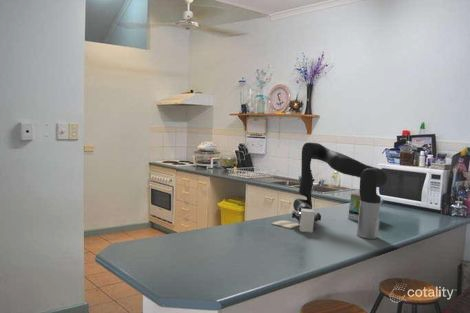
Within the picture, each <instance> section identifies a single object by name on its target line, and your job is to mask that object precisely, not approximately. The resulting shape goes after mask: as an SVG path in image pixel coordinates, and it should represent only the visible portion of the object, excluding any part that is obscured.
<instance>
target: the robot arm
mask: <svg viewBox="0 0 470 313" xmlns="http://www.w3.org/2000/svg"><path fill="white" fill-rule="evenodd" d="M312 160H318V161H321V162H323V163H326V164H328V166H329V167H330V168H331V169H333V170H334V171H336V172H339V173H340V174H344V175H347V176H350V177H356V178H359V191H358V192H359V193H360V197H361V199H360V208H359V217H358V221H357V229H356V235H357V237H360V238H363V239H369V240H370V239H371V240H376V239H377V238H378V237H379V231H380V221H381V217H380V209H381V201H382V199H381V198H382V197H381V196H380V195H379V194H378V193H377V188H380V187H381V188H382V187H383V186H384V185H385V184H387V182H388V176H387V173H386V172H385V171H384V170H383V169H381V168H379V167H378V168H377V167H376V166H375V167H374V166H371V165H368V164H365V163H363V162H360V161H358V160H357V159H354V158H353V157H351V156H348V155H345V154H344V153H340V152H338V151H334V150H331V149H329V148H327V147H326V146H324V145H322V144H320V143H318V142H312V141H311V142H310V141H308V142H305V143H304V144H303V146H302V148H301V167H300V168H301V175H300V182H299V189H298V194H299V195H302V196H304V197H305V198H306V199H304V198H295V199H294V200H293V204H292V205H293V210H292V212H291V213H292V215H291V218H292V219H294V218H295V219H296V220H297V221H300V216H301V208H302V209H313V202H312V191H313V185H314V177H313V174H312V169H311V164H312V163H311V162H312ZM321 219H322V215H321V214H320V212H317V213H316V214H315V213H314V223H316V222H320V221H321Z"/></svg>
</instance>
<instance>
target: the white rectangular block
mask: <svg viewBox="0 0 470 313" xmlns="http://www.w3.org/2000/svg"><path fill="white" fill-rule="evenodd" d="M314 213H315V210H314V209H313V208H312V209H302V208H301V216H300V219H299V224H300V226H298V227H299V232H304V233H313V232H314V223H315V220H314Z"/></svg>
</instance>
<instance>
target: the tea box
mask: <svg viewBox="0 0 470 313" xmlns="http://www.w3.org/2000/svg"><path fill="white" fill-rule="evenodd" d="M360 199H361V197H360V193H359V191H358V192H354V193H351V194H350V201H349V208H348V215H347V216H348V217H347V219H348V220H352V221H356V222H358V217H359V208H360Z"/></svg>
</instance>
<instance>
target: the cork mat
mask: <svg viewBox="0 0 470 313" xmlns="http://www.w3.org/2000/svg"><path fill="white" fill-rule="evenodd" d="M271 225H273V226H277V227H281V228H286V229H289V230H292V229H295V228H297V227H300V223H298V222H293V221H290V220H289V221H288V220H285V219H281V220H278V221H274V222H271Z"/></svg>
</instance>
